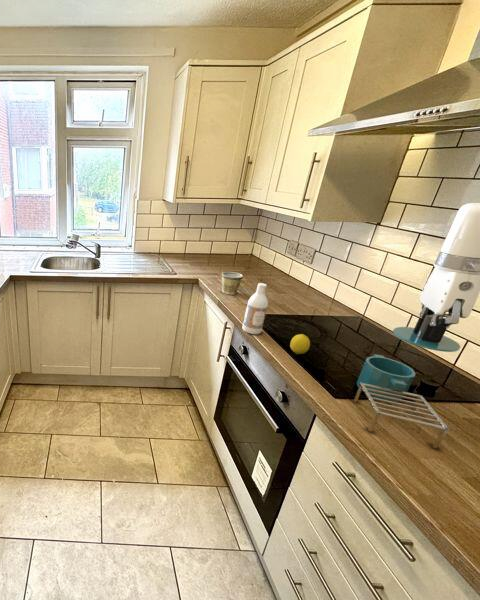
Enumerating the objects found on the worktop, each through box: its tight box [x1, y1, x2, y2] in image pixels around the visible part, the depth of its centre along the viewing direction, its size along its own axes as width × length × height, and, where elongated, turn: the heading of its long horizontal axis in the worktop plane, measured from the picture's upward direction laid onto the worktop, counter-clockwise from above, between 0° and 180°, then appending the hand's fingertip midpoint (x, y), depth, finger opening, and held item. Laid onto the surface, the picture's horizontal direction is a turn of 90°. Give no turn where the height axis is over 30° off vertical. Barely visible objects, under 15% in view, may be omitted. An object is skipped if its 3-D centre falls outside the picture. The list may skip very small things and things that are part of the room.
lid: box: [392, 314, 461, 353], centre depth 74 cm, size 11×11×7 cm
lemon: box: [289, 333, 311, 355], centre depth 110 cm, size 6×6×8 cm
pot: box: [356, 353, 416, 403], centre depth 92 cm, size 10×16×8 cm, turn 155°
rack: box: [352, 383, 451, 449], centre depth 80 cm, size 13×13×6 cm
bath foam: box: [241, 282, 269, 335], centre depth 124 cm, size 7×7×20 cm
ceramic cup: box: [221, 271, 248, 296], centre depth 165 cm, size 13×10×10 cm
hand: (425, 336), depth 75 cm, fingers closed on lid, 3 cm apart
